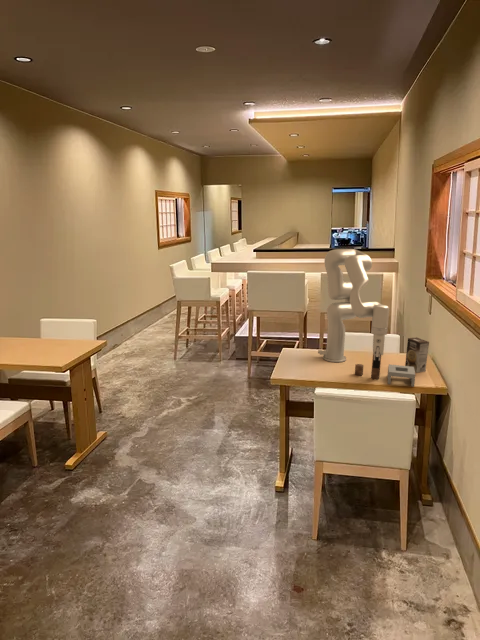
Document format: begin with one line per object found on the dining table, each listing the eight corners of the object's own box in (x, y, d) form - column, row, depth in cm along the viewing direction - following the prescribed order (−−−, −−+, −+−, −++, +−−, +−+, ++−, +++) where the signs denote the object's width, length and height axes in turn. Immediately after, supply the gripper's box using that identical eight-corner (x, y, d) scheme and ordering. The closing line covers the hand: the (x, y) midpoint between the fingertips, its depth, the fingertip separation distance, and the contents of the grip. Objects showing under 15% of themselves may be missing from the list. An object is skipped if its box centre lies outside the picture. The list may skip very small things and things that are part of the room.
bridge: (387, 383, 241) (388, 371, 240) (387, 375, 252) (388, 364, 251) (414, 386, 238) (415, 374, 237) (412, 378, 249) (413, 366, 248)
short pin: (354, 375, 252) (355, 366, 250) (354, 373, 255) (355, 363, 254) (362, 376, 251) (363, 366, 249) (362, 373, 254) (363, 364, 253)
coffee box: (404, 367, 266) (407, 337, 262) (413, 366, 268) (416, 336, 264) (416, 372, 257) (419, 342, 254) (426, 371, 260) (429, 341, 256)
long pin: (370, 379, 247) (373, 349, 243) (371, 376, 251) (373, 347, 247) (379, 380, 246) (381, 350, 242) (379, 377, 250) (381, 348, 246)
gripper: (387, 335, 234) (384, 372, 238) (387, 327, 249) (384, 362, 254) (370, 333, 236) (367, 371, 240) (371, 325, 251) (368, 360, 256)
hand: (376, 366), depth 247 cm, fingers closed on long pin, 4 cm apart
